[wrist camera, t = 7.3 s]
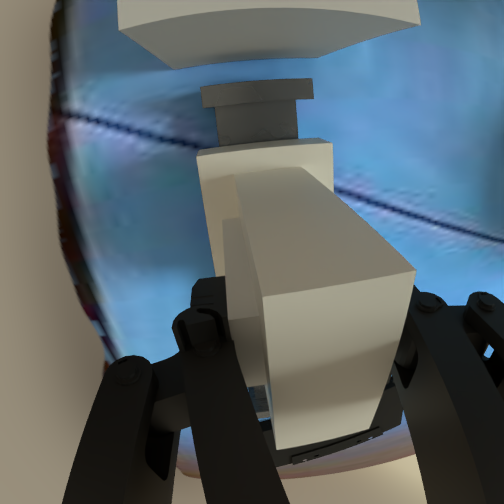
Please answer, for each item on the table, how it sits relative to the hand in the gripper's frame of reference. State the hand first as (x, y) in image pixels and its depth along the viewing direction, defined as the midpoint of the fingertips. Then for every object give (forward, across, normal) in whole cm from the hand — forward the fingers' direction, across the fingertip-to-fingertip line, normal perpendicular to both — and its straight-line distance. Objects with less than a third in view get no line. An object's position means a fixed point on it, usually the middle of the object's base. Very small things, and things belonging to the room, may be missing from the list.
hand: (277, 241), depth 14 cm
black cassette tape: (+6, +6, -28) cm, 29 cm away
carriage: (+3, 0, 0) cm, 3 cm away
